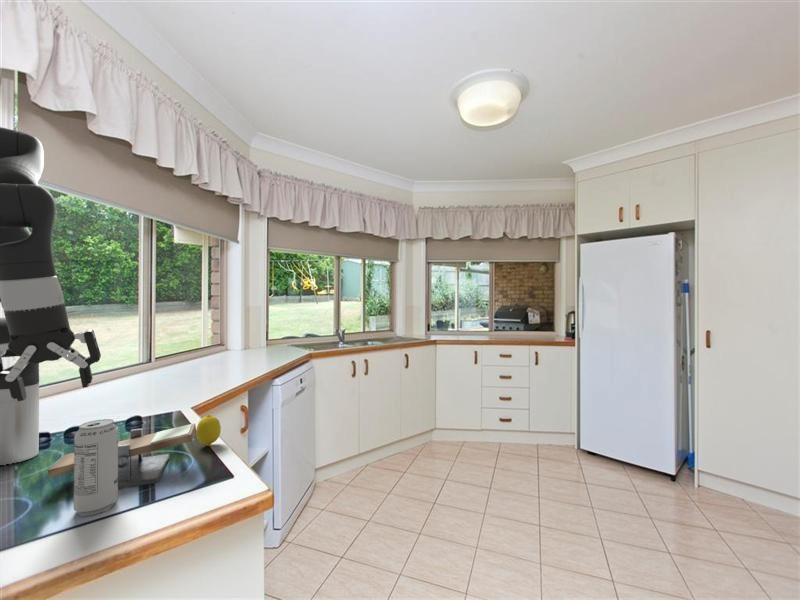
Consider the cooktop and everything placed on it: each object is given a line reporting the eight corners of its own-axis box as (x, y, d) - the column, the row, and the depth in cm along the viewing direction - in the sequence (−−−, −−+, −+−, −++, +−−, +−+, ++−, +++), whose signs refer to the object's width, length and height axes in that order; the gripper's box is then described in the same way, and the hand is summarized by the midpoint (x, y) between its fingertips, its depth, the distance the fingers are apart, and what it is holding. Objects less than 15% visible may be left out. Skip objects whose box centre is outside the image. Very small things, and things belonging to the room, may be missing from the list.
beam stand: (82, 495, 70) (82, 452, 70) (105, 467, 82) (106, 431, 82) (157, 482, 74) (157, 443, 74) (168, 458, 86) (168, 424, 86)
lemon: (224, 445, 94) (224, 414, 94) (201, 452, 90) (201, 419, 90) (215, 440, 98) (215, 410, 98) (192, 446, 93) (192, 415, 93)
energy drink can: (125, 503, 67) (125, 420, 67) (86, 521, 61) (86, 431, 61) (105, 496, 69) (105, 416, 69) (66, 512, 64) (66, 426, 64)
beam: (48, 477, 70) (47, 469, 70) (67, 461, 77) (65, 453, 77) (191, 441, 79) (190, 433, 79) (196, 429, 86) (194, 422, 86)
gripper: (90, 296, 70) (107, 376, 73) (-18, 307, 62) (5, 397, 65) (85, 301, 64) (103, 388, 67) (-36, 314, 56) (-9, 412, 59)
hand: (55, 392), depth 66 cm, fingers open, 8 cm apart
